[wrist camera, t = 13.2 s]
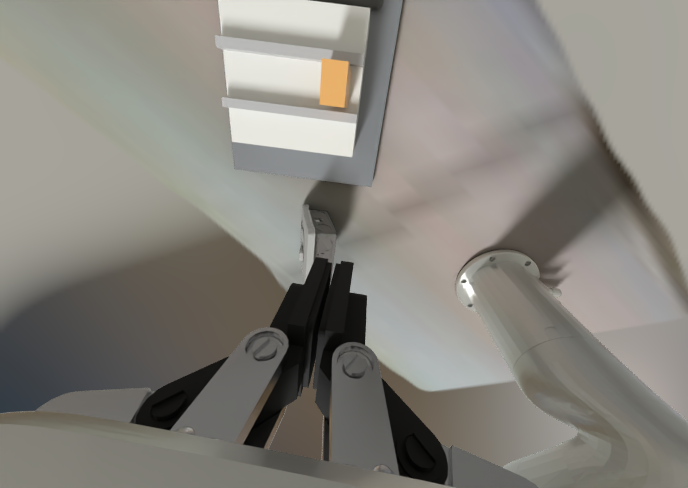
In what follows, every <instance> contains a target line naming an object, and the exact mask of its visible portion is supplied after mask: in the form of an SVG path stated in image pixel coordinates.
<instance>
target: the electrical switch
mask: <svg viewBox="0 0 688 488" xmlns="http://www.w3.org/2000/svg"><path fill="white" fill-rule="evenodd" d="M336 236H337V234H336V231H335V229H334V226H333V224H332V221H331V219H330V217H329V214H328V212H327V211H319V210H309V205H303V207H302V225H301V248H300V252H299V260H301V265H302V274H303V280H304V283H305V281H306V279H307V276H308V274H309V271H310V269H311V267H312V264H313V262H314V260H315V258H316V257H320V258H326V259H328V262H330V263H332V271H333V262H334V253H335V244H336ZM331 280H332V272H331ZM331 280H330V282H331Z"/></svg>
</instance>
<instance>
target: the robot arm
mask: <svg viewBox="0 0 688 488" xmlns="http://www.w3.org/2000/svg"><path fill="white" fill-rule="evenodd" d="M353 264H354V263H351V262H345V261H341V264H337V263H336V266H335V270H334V273H333V277H332V281H331V285H330V280H331V272H332V263H330V262H328V259H326V258H320V257H316V258H315V260H314V262H313V264H312V267H311V269H310V271H309V274H308V276H307V279H306V281H305V283H304V285H302V284H296V283H292V284H291V286H290V288H289V290H288V292H287V294H286V296H285V298H284V300H283V302H282V304H281V306H280V308H279V310H278V312H277V314H276V315H275V318H274V319H273V322H272V324H271V326H270V327H268V328H260V329H257V330H255V331H253V332H251V333H249V334H248V335H247V336H246V337H245V338H244V339H243V340H242V342H241V343H240V344H239V346H238V347H237V348H236V349H235V350H234V352H233V353H232V354H231V355H230V356H229V357H227V358H224V359H222V360H220V361H218V362H215V363H213V364H211V365H209V366H207V367H204V368H202V369H200V370H198V371H196V372H194V373H191V374H189V375H187V376H185V377H182V378H180V379H178V380H176V381H174V382H171V383H169V384H167V385H165V386H163V387H162V388H160V389H158V390H157V391H150V388H134V389H115V390H95V391H77V392H72V393H67V394H64V395H61V396H59V397H57V398H54V399H52V400H51V401H49V402H47V403H46V404H44V405H43V406H41V407H40V408H38V409H37V410H36V411H24V412H10V413H2V414H0V488H688V421H687V420H686V419H685V418H684V417H683V416H681V415H680V414H679V413H678V412H677V411H676V410H674V409H673V408H672V407H671V406H670V405H668V404H667V403H666V402H665V401H664V400H663V399H661V398H660V397H659V396H658V395H656V394H655V393H654V392H653V391H652V390H651V389H650V388H649V387H648V386H646V385H645V384H644V383H643V382H642V381H641V380H640V379H639V378H638V377H637V376H636V375H635V374H633V372H631V371H630V370H629V369H628V368H627V367H626V366H625V365H624V364H623V363H622V362H620V360H619V359H618V358H616V357H615V356H614V355H613V354H612V353H611V352H610V351H609V350H608V349H607V348H606V347H605V346H604V345H603V344H602V343H601V342H600V341H599V340H598V339H597V338H596V337H594V335H593V334H592V333H591V332H590V331H589V330H588V329H587V328H585V327H584V326H583V325H582V324H581V323H580V322H579V321H578V320H577V319H576V318H575V317H574V316H573V315H572V314H571V313H570V312H569V311H568V310H567V309H566V308H565V307H564V306H563V305H562V304H561V302H560V301H558V300H557V299H556V298H555V297H560V296H561V294H562V293H561V290H560V289H557V288H547V287H546V286H545V285H544V284H543V283H542V282H541V281H540V280H539V279H540V273H539V269H538V267H537V265H536V264H535V262H534V261H533V260H532V259H530V258H529V257H528V256H527V255H525V254H523V253H521V252H518V251H515V250H495V251H490V252H487V253H484V254H482V255H480V256H478V257H476V258H474V259H473V260H471V261H470V262H469V263H468V264H467V265H466V266H465V267H463V269H462V270H461V272H460V273H459V275H458V277H457V280H456V284H455V290H456V294H457V296H458V298H459V300H460V302H461V303H462V304H463V305H464V306H465V307H466V308H468V309H470V310H472V311H474V312H477V313H478V315H479V316H480V318H481V320H482V322H483V323H484V325H485V327H486V329H487V331H488V332H489V334H490V336H491V338H492V339H493V341H494V343H495V345H496V346H497V348H498V350H499V352H500V354H501V355H502V357H503V359H504V361H505V362H506V364H507V366H508V368H509V369H510V371H511V373H512V375H513V377H514V378H515V380H516V382H517V383H518V385H519V387H520V389H521V390H522V392H523V393H524V394H525V396H526V397H527V398H528V399H529V400H530V401H531V402H532V403H533V404H534V405H535V406H536V407H538V408H539V409H540V410H541V411H543V412H544V413H546V414H548V415H549V416H551V417H553V418H555V419H556V420H558V421H561V422H562V423H564V424H566V425H568V426H570V427H572V428H574V429H576V430H578V434H577V436H575V437H574V438H572V439H570V440H568V441H565V442H563V443H562V444H560V445H558V446H555V447H552V448H549V449H546V450H544V451H540V452H538V453H535V454H532V455H529V456H526V457H524V458H521V459H518V460H515V461H513V462H511V463H509V464H507V465H505V466H504V467H500V466H498V465H495V464H493V463H491V462H489V461H487V460H484V459H482V458H480V457H477V456H475V455H473V454H471V453H469V452H467V451H464V450H462V449H460V448H457V447H455V446H453V445H452V446H451V447H450V448H449V447H446V446H444V445H442V444H441V443H440V442H439V441H438V439H437V438H436V437H435V435H434V434H433V433H432V432H431V431H430V430H429V429H428V428H427V427H426V426H425V425H424V423H423V422H422V421H421V420H420V419H419V418H418V417H417V416H416V415H415V414H414V413H413V411H412V410H411V409H410V408H409V407H408V406H407V405H406V404H405V403H404V402H403V401H402V400H401V398H400V397H399V396H398V395H397V394H396V393H395V392H394V391H393V390H392V389H391V388H390V386H389V385H388V384H387V383H386V382H385V381H384V380H383V379H382V378H381V373H380V367H379V362H378V359H377V356H376V355H375V354H374V352H373V351H372V350H371V349H370V348H369V347H367V346H365V332H366V306H367V295H362V294H356V293H350V285H351V278H352V271H353ZM315 359H316V362H315ZM314 363H315V372H314V381H313V389H317V392H316V401H315V403H316V404H317V406H318V407H319V409H320V410H321V412H322V414H323V415H324V417H323V438H322V460H318V459H314V458H308V457H303V456H298V455H293V454H288V453H283V452H278V451H273V450H268V449H269V446H270V444H271V442H272V440H273V438H274V435H275V433H276V431H277V429H278V426H279V424H280V422H281V420H282V418H283V416H284V413H285V411H286V407H287V405H288V404H290V403H291V402H293V401H294V400H296V399H297V396H301V393H302V389H303V387H307V388H308V387H309V383H310V379H311V375H312V371H313V367H314Z"/></svg>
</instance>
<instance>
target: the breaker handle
mask: <svg viewBox="0 0 688 488" xmlns="http://www.w3.org/2000/svg"><path fill="white" fill-rule="evenodd" d="M351 73H352V71H351V67H350V64H349V62H348V61H340V60H333V59H325V58H322V66H321V84H320V102H319V105H326V106H334V107H341V108H348V101H349V92H350V82H351Z"/></svg>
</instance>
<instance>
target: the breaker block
mask: <svg viewBox="0 0 688 488" xmlns="http://www.w3.org/2000/svg"><path fill="white" fill-rule="evenodd" d="M402 2H403V0H218V9H219V19H220V29H221V36H217V35H215V42H216V47H218V48H220V49H222V50H223V59H224V69H225V79H226V89H227V97H222V105H223V107H228V109H229V119H230V129H231V139H232V149H233V159H234V169H237V170H245V171H252V172H260V173H268V174H275V175H283V176H291V177H299V178H306V179H314V180H322V181H329V182H337V183H345V184H352V185H360V186H368V187H372V181H373V175H374V169H375V163H376V157H377V151H378V145H379V139H380V133H381V128H382V122H383V116H384V110H385V104H386V98H387V92H388V86H389V80H390V74H391V68H392V62H393V56H394V50H395V44H396V38H397V32H398V26H399V20H400V14H401V8H402ZM322 58H325V59H333V60H340V61H348V62H349V64H350V67H351V71H352V73H351V82H350V92H349V101H348V108H341V107H334V106H326V105H319V102H320V84H321V66H322Z"/></svg>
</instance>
